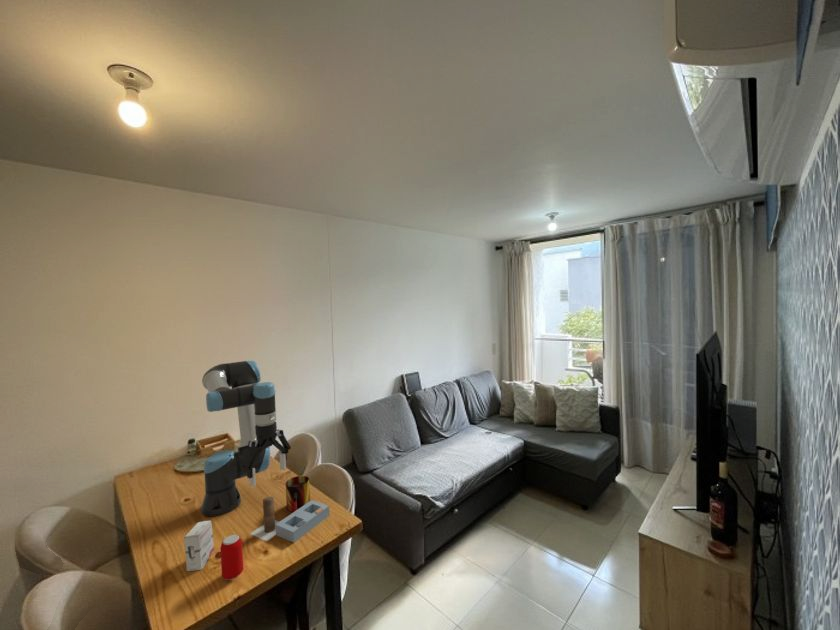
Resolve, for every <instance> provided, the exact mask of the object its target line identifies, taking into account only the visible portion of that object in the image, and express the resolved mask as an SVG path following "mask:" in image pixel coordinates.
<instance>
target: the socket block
mask: <svg viewBox="0 0 840 630" xmlns="http://www.w3.org/2000/svg"><path fill="white" fill-rule="evenodd" d="M328 517H330V505H328V504H326V503H325V504H324V503H322V502H319V501H316V500H314V499H312V500H311V499H310V502H308V503H307V504H305V505H304V506H302V507H301V508H299V509H298V510H296V511H295V512H293V513H290V514H289V515H288V516H286V517H284V518H283V519H281V520H280V521H279V522H278V523H277V524H275V525H276V535H275V536H277V537H280V538H282V539H284V540H285V541H286V540H287V541H289V542H291V543H293V544H294V543H296V542H297V541H298V540H300V539H301V538H302V537H304V536H305V535H306V534H307V533H309V532H310V531H311V530H313V529H314V528H315V527H317V526H318V525H320V524H321V523H322V522H323V521H324V520H326V519H327V518H328Z"/></svg>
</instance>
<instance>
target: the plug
mask: <svg viewBox="0 0 840 630" xmlns="http://www.w3.org/2000/svg"><path fill="white" fill-rule="evenodd" d="M274 502H275V501H274V496H272V495H271V496H266V497H264V498H263V499H262V509H263V512H262V513H263V525H264V531H265V533H270V532H272V531H274V530H275V520H276V519H275V503H274Z"/></svg>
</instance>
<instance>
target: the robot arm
mask: <svg viewBox="0 0 840 630" xmlns="http://www.w3.org/2000/svg"><path fill="white" fill-rule="evenodd" d="M261 377H262V376H261V371H260V368H259V365H258V363H257V362H256V361H254V360H243V361H237V362H227V363H220V364H217V365H214V366H213V367H211V368H209V369H208V370H206V372H205V373H204V374H203V376H202V379H201V380H202V381H201V383H202V386H203V388H204V389H206V390H207V391H208V392H207V393H206V395H205V403H206V411H207V412H208V413H209V412H210V413H212V412H221V411H225V410H229V409H234V408H237V417H238V424H239V425H238V427H239V434H240V435H239V437H240V444H239V445H238V447H237V451H234V450H233V449H224V450H221V451H217V452H216V453H213V454H211V455H210V456H209V457H207V458H206V459H205V460H204V463H203V467H204V468H203V473H204V491H205V494H204V497H203V501H202V504H201V514H202V515H203V516H206V517H215V516H221V515H224V514H227V513H229V512H231V511H233V510H234V509H236V508H237V507H238V506H239V505H241V502H242V501H241V500H242V498H241V494H240V492H239V490H238V488H237V485H236V480H239V479H242V478H245V477H247V479H248V481H249V483H248V484H249V486H251V487H256V486H257V482H256V480H257V478H256V474H259V473H262V472H264V471H267V470H268V469H269V466H270V464H271V448H270V447H271V446H274V447H275V448H277V450H279V451H280V452H279V455H278V456H279V470H282V471H286V470H287V459H288V457H287V456H288V454H289V451H290V450H291V444H290V443H289V442H288V440H287V438H286V436H285V434H284V430H283V429H279V428H278V426H277V410H276V389H275V384H274V383H273V382H270V381H267V382H261V381H262V380H261ZM277 428H278V429H277ZM277 438H278V439H279V441H280V442H279V441H278V440H277Z"/></svg>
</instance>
